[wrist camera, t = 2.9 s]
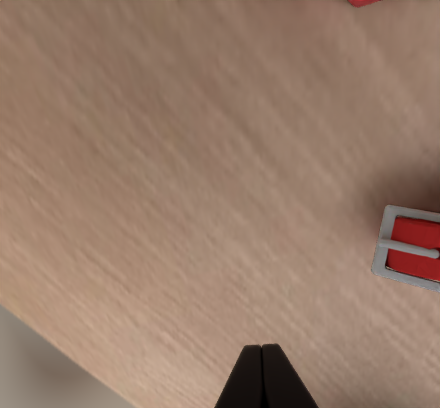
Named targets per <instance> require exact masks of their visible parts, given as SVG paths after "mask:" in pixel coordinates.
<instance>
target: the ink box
mask: <svg viewBox="0 0 440 408" xmlns="http://www.w3.org/2000/svg"><path fill="white" fill-rule="evenodd" d="M348 1H349V2H350V3H351V4H352V5H353V6H355V7H357V8H359V7H361V6H365V5H368V4H372V3H374V2H377V1H381V0H348Z"/></svg>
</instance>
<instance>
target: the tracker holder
mask: <svg viewBox="0 0 440 408" xmlns="http://www.w3.org/2000/svg"><path fill="white" fill-rule="evenodd" d="M399 215H401V216H406V217H412V218H417V219H412V218H403V217H397V216H399ZM386 266H387V267H389V268H392V269H394V270H391V269H387V267H386ZM395 270H397V271H395ZM371 271H372V273H373V274H374V275H378V276H382V277H385V278H389V279H392V280H396V281H400V282H403V283H407V284H410V285H414V286H418V287H421V288H425V289H428V290H432V291H436V292H439V293H440V282H436V281H432V280H438V281H440V213H435V212H429V211H423V210H418V209H412V208H406V207H401V206H395V205H387V206H386V207H385V210H384V214H383V219H382V223H381V227H380V232H379V236H378V240H377V245H376V250H375V254H374V259H373V263H372V268H371ZM398 271H399V272H398ZM402 272H403V273H402ZM417 276H418V277H417ZM421 277H422V278H421ZM425 278H427V279H425ZM429 279H432V280H429Z"/></svg>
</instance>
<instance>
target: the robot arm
mask: <svg viewBox="0 0 440 408" xmlns="http://www.w3.org/2000/svg"><path fill="white" fill-rule="evenodd" d="M214 408H319V407H318V406H317V404H316V402H315V401H314V399H313V398H312V396H311V395H310V393H309V391H308V390H307V388H306V387H305V385H304V383H303V382H302V380H301V379H300V377H299V376H298V374H297V372H296V371H295V369H294V368H293V366H292V364H291V363H290V361H289V360H288V358H287V357H286V355H285V353H284V352H283V350H282V349H281V347H280V346H279V345H278V344H263V345H262V348H261V346H260V345H246V346H244V348H243V349H242V351H241V353H240V356H239V358H238V360H237V362H236V364H235V366H234V368H233V370H232V372H231V374H230V376H229V378H228V380H227V383H226V385H225V387H224V389H223V391H222V393H221V395H220V397H219V399H218V401H217V403H216V405H215V407H214Z"/></svg>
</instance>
